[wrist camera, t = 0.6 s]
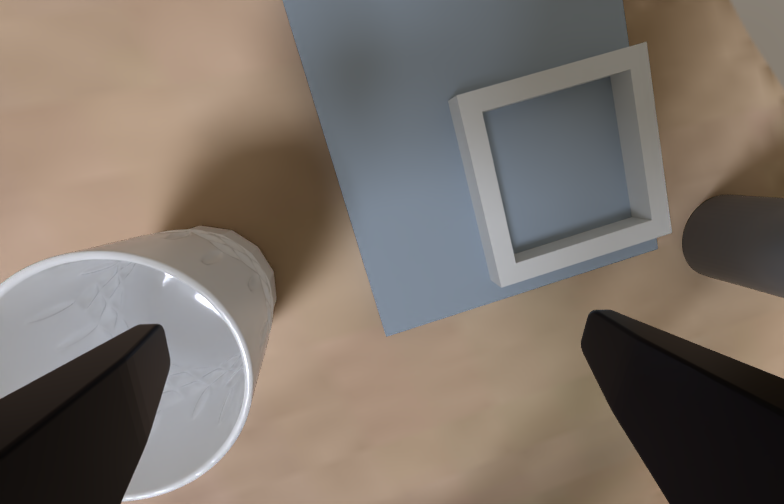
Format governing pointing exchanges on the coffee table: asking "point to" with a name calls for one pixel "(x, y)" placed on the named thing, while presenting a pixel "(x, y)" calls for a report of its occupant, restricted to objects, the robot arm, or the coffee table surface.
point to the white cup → (153, 306)
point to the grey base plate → (484, 143)
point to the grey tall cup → (738, 241)
